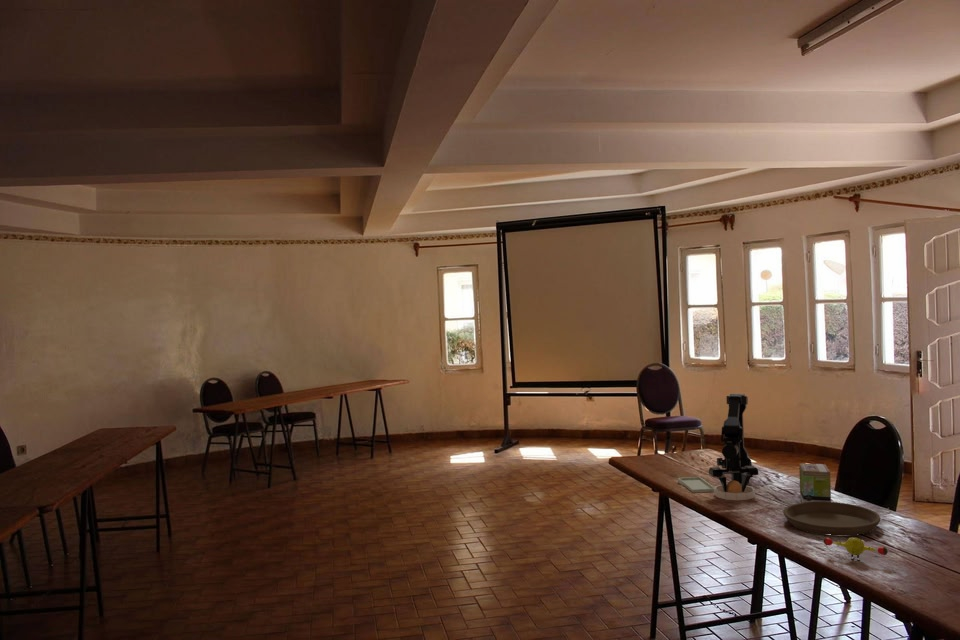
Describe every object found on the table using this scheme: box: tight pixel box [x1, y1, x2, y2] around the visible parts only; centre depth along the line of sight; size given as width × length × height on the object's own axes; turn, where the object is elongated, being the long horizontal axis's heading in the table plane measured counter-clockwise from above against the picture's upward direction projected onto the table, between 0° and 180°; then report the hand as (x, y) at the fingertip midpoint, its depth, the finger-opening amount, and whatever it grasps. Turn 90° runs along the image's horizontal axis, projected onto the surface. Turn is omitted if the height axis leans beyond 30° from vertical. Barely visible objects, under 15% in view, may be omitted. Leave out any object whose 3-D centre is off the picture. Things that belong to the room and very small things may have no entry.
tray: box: [677, 476, 715, 494], centre depth 317 cm, size 10×22×2 cm, turn 1°
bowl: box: [713, 484, 756, 501], centre depth 299 cm, size 16×16×4 cm
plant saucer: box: [782, 501, 881, 535], centre depth 257 cm, size 31×31×5 cm
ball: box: [726, 479, 742, 493], centre depth 299 cm, size 6×6×6 cm
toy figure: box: [823, 536, 889, 559], centre depth 222 cm, size 18×6×7 cm, turn 48°
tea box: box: [798, 463, 832, 503], centre depth 283 cm, size 15×10×15 cm
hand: (734, 492), depth 299 cm, fingers open, 7 cm apart
